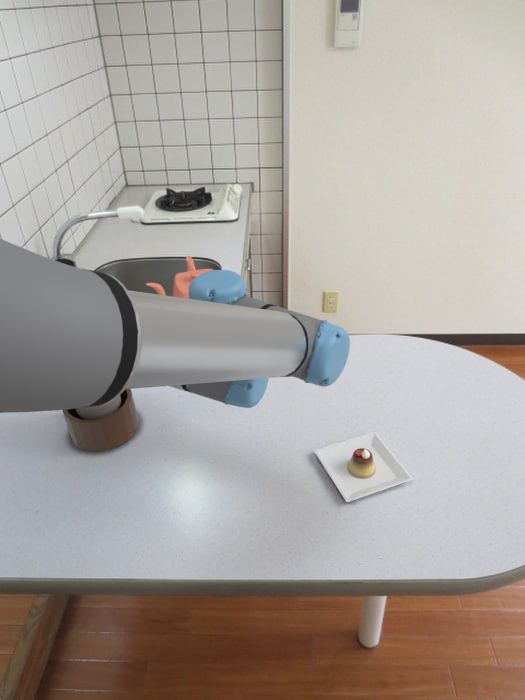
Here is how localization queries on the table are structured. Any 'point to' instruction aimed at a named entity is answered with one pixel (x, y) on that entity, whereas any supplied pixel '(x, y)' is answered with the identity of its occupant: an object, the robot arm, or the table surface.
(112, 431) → the bottle holder
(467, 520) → the table surface
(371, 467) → the dessert
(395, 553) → the table surface
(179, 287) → the pot
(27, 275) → the robot arm
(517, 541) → the table surface
